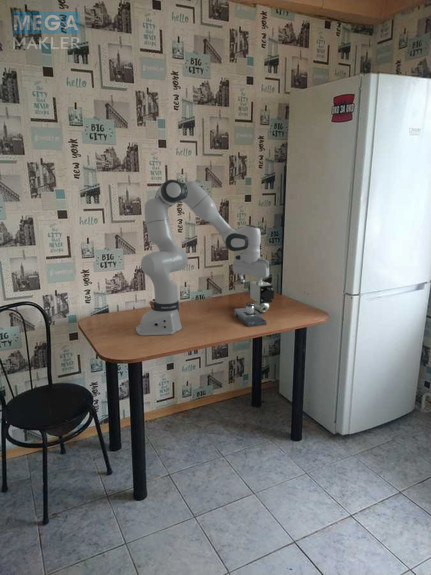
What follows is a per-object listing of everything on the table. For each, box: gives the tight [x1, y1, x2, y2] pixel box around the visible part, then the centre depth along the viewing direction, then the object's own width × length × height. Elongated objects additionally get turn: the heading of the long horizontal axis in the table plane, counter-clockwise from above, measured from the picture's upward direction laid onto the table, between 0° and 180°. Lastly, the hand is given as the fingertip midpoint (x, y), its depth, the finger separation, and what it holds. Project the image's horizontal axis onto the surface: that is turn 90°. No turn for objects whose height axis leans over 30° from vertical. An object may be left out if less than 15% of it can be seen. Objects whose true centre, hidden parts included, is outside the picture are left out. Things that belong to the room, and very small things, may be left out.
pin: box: [245, 302, 255, 315], centre depth 218 cm, size 5×5×9 cm
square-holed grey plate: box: [234, 307, 267, 328], centre depth 219 cm, size 10×20×4 cm, turn 17°
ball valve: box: [247, 279, 275, 313], centre depth 232 cm, size 18×8×18 cm, turn 22°
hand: (250, 283), depth 214 cm, fingers open, 8 cm apart
